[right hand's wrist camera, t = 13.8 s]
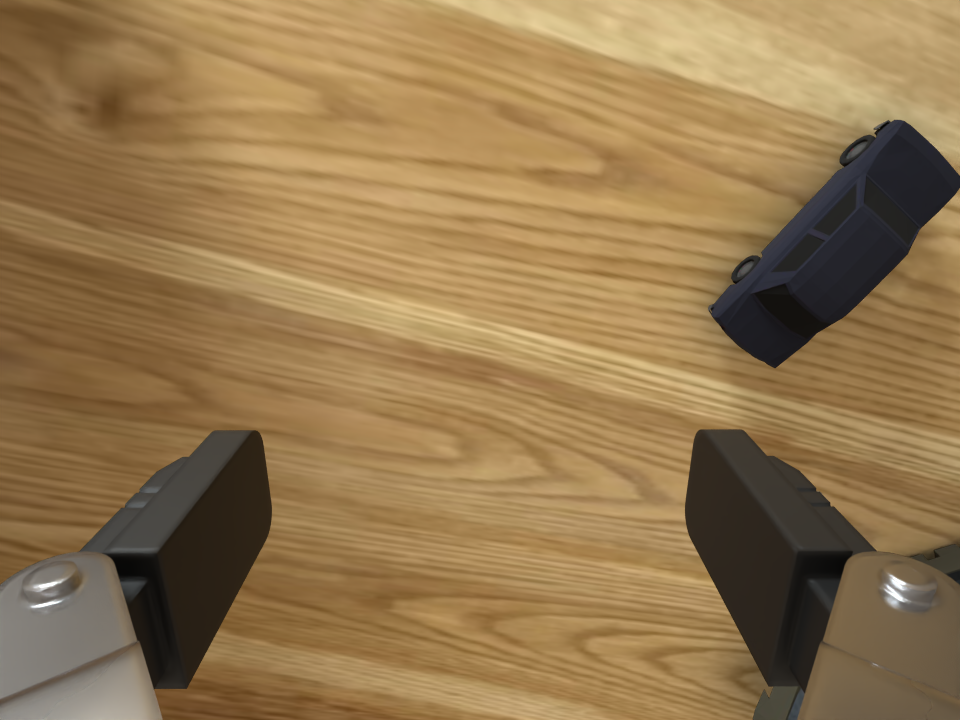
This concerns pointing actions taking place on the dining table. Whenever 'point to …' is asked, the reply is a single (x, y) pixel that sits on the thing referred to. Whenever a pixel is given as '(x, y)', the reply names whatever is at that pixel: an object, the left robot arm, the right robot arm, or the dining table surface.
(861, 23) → the dining table surface
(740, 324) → the toy car
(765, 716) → the boot
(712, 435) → the right robot arm
